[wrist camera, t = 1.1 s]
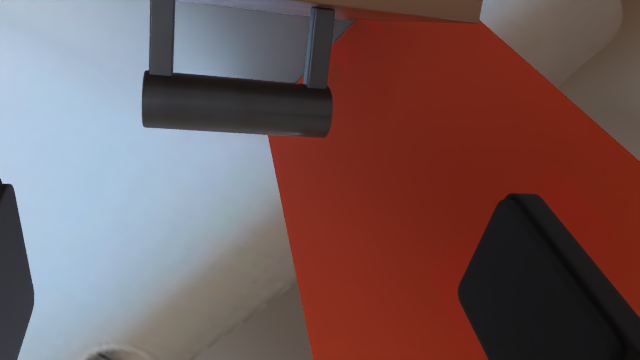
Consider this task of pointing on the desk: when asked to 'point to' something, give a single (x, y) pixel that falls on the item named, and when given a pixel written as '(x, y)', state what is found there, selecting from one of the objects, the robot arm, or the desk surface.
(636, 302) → the file binder
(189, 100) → the wooden box lid
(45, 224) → the desk surface
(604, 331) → the robot arm
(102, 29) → the desk surface
